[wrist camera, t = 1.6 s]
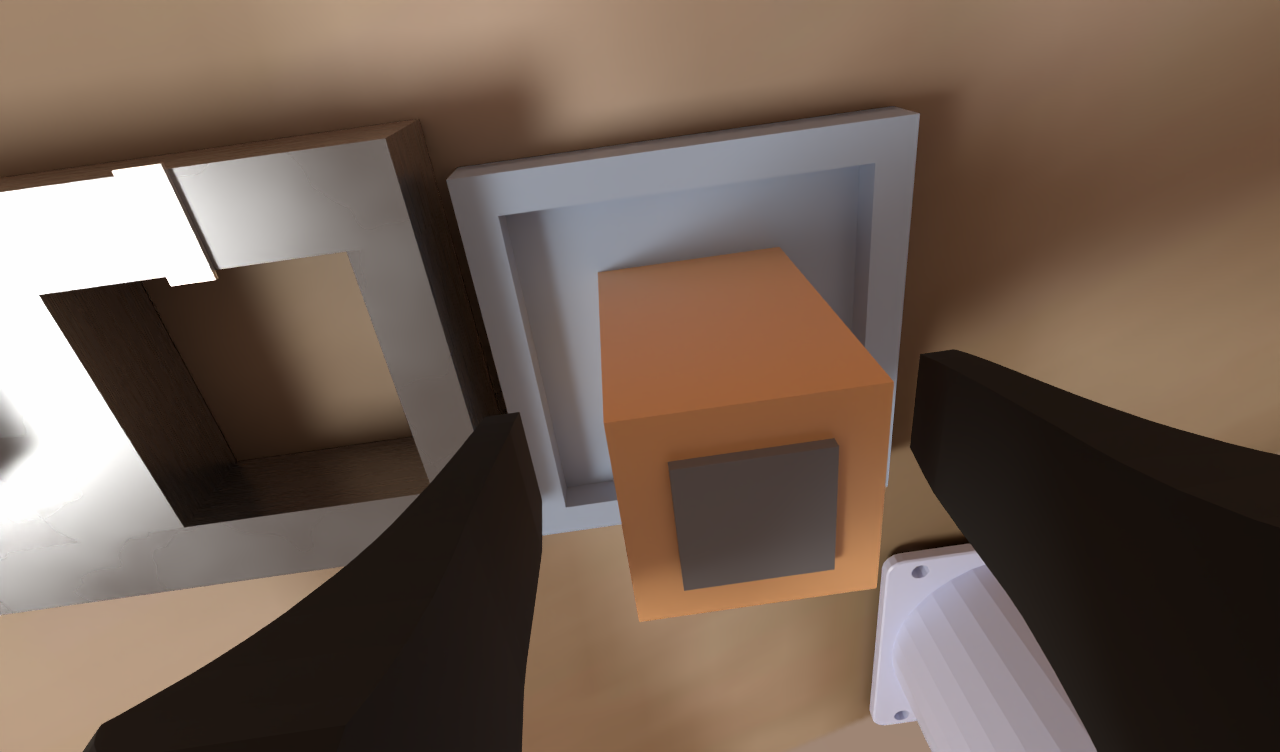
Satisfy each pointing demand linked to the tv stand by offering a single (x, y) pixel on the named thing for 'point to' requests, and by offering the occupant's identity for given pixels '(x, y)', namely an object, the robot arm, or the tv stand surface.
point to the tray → (672, 258)
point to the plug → (740, 434)
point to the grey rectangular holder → (162, 387)
